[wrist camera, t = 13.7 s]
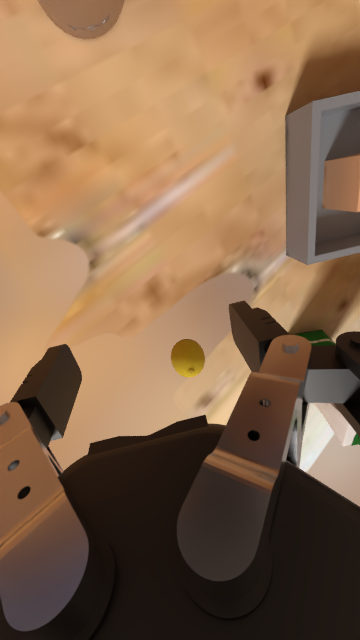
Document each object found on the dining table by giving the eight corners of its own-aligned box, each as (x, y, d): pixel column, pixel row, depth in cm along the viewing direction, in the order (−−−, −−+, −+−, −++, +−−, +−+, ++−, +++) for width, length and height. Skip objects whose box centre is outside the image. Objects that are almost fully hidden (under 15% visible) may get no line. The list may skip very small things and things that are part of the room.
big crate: (285, 115, 33) (312, 101, 27) (407, 88, 33) (457, 68, 27) (286, 255, 41) (307, 264, 36) (383, 232, 41) (418, 238, 36)
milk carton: (278, 370, 52) (347, 464, 34) (281, 331, 47) (362, 415, 30) (320, 363, 52) (410, 452, 34) (327, 324, 48) (433, 402, 30)
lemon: (202, 331, 46) (212, 358, 38) (197, 357, 48) (206, 387, 41) (171, 330, 45) (175, 356, 38) (167, 356, 47) (171, 386, 40)
